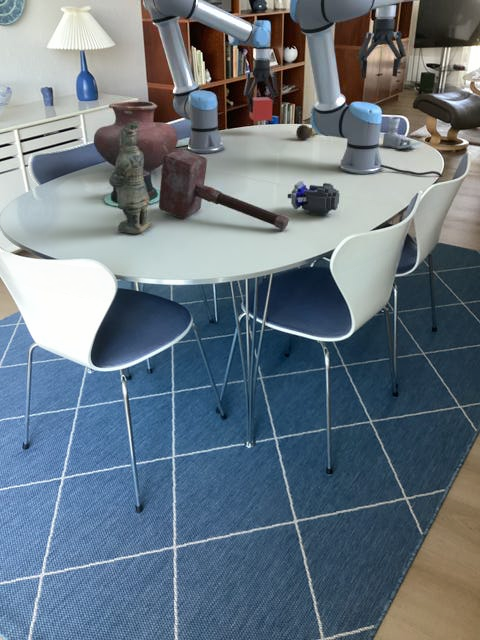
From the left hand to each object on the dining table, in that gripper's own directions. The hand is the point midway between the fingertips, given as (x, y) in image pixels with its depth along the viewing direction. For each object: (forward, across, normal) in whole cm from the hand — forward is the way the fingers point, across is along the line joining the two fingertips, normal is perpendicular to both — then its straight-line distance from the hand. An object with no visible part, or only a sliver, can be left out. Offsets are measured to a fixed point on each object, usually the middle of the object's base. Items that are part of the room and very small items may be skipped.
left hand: (260, 111), depth 262 cm
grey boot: (+10, -50, +45) cm, 68 cm away
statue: (+13, +67, +111) cm, 130 cm away
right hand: (-18, -39, +40) cm, 59 cm away
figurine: (+10, -23, +11) cm, 27 cm away
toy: (+11, +13, +112) cm, 114 cm away
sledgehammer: (+12, +40, +112) cm, 119 cm away
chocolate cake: (+12, +65, +82) cm, 105 cm away
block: (+3, 0, 0) cm, 3 cm away
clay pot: (+12, +61, +50) cm, 80 cm away
